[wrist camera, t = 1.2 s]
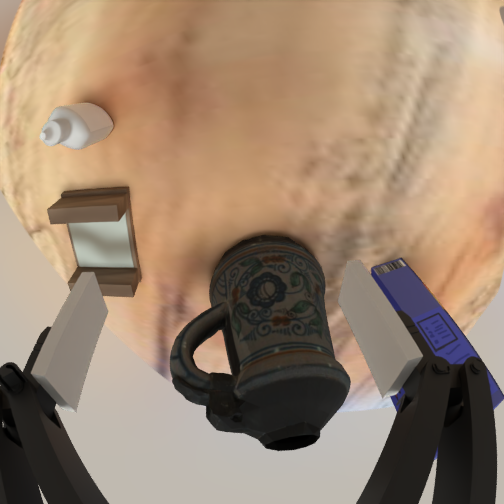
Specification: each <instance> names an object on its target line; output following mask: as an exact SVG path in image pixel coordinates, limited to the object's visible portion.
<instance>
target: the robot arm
mask: <svg viewBox="0 0 504 504" xmlns="http://www.w3.org/2000/svg"><path fill="white" fill-rule="evenodd" d="M338 303H339V305H340V307H341V309H342V311H343V313H344V315H345V317H346V319H347V321H348V323H349V325H350V327H351V329H352V332H353V334H354V336H355V338H356V340H357V342H358V344H359V346H360V349H361V351H362V353H363V355H364V357H365V360H366V362H367V364H368V366H369V368H370V371H371V373H372V375H373V377H374V380H375V382H376V384H377V387H378V389H379V391H380V394H381V396H382V398H386V397H389V396H392V395H396V394H397V393H398V392H399V390H400V389H401V388H402V387H403V389H404V391H405V393H404V394H403V396H402V397H401V398H400V399H399V401H398V402H397V404H396V405H397V406H398V405H399V404H400V406H399V409H398V412H397V414H396V417H395V420H394V423H393V425H392V428H391V431H390V434H389V436H388V438H387V441H386V444H385V446H384V448H383V451H382V453H381V455H380V457H379V460H378V462H377V464H376V466H375V468H374V470H373V472H372V475H371V477H370V479H369V481H368V483H367V485H366V486H365V489H364V490H363V492H362V494H361V496H360V498H359V499H358V501H357V503H356V504H418V503H419V500H420V498H421V496H422V493H423V490H424V488H425V485H426V482H427V480H428V476H429V474H430V471H431V468H432V464H433V461H434V458H435V455H436V451H437V448H438V454H437V468H436V478H435V487H434V494H433V501H432V504H495V498H496V485H497V444H496V429H495V419H494V410H493V403H492V396H491V390H490V384H489V379H488V374H487V369H486V366H485V364H484V362H483V361H482V360H481V359H479V358H478V357H475V356H471V357H469V358H467V359H466V361H465V362H464V363H463V364H450V363H449V362H448V361H447V360H446V359H445V358H443V357H440V356H435V354H434V353H433V351H432V350H431V348H430V347H429V345H428V343H427V342H426V340H425V339H424V337H423V335H422V334H421V333H420V332H419V329H418V328H417V326H415V323H414V322H413V320H412V319H411V317H410V316H409V315H407V314H406V313H405V312H404V311H402V310H400V311H395V310H394V308H393V307H392V305H391V304H390V302H389V301H388V299H387V298H386V296H385V295H384V293H383V292H382V290H381V289H380V287H379V286H378V284H377V283H376V282H375V280H374V279H373V277H372V276H371V274H370V273H369V272H368V270H367V269H366V267H365V266H364V265H363V263H362V262H361V260H353V261H347V265H346V269H345V274H344V278H343V282H342V286H341V291H340V295H339V298H338ZM107 314H108V309H107V307H106V304H105V301H104V299H103V296H102V293H101V291H100V288H99V285H98V282H97V279H96V276H95V273H94V272H82V273H81V275H80V277H79V278H78V280H77V282H76V283H75V285H74V287H73V289H72V290H71V292H70V294H69V296H68V297H67V299H66V301H65V303H64V305H63V306H62V308H61V310H60V312H59V314H58V316H57V318H56V320H55V322H54V324H53V326H52V327H47V328H46V329H45V330H44V331H43V332H42V333H41V334H40V336H39V338H38V340H37V344H35V346H34V348H33V351H32V353H31V355H30V357H29V359H28V361H27V364H26V366H25V368H24V370H23V372H22V371H21V370H20V369H19V367H18V366H17V365H16V364H15V363H12V362H9V363H6V364H4V365H3V366H1V368H0V385H1V386H0V504H44V503H43V500H42V497H41V493H40V490H39V486H40V489H41V491H42V493H43V495H44V497H45V499H46V501H47V502H48V504H109V503H108V502H107V500H106V499H105V497H104V496H103V495H102V493H101V492H100V490H99V489H98V487H97V486H96V484H95V483H94V481H93V479H92V478H91V476H90V474H89V473H88V471H87V469H86V468H85V466H84V464H83V463H82V461H81V459H80V457H79V456H78V454H77V452H76V450H75V448H74V446H73V444H72V442H71V440H70V438H69V436H68V434H67V432H66V430H65V428H64V426H63V423H62V421H61V419H60V417H59V415H58V413H57V411H56V409H55V406H56V403H57V404H58V405H59V406H60V407H61V408H62V409H63V410H67V411H72V412H76V410H77V407H78V403H79V399H80V395H81V392H82V388H83V385H84V381H85V378H86V375H87V371H88V368H89V365H90V362H91V358H92V355H93V353H94V350H95V347H96V344H97V341H98V338H99V335H100V333H101V330H102V327H103V324H104V322H105V319H106V317H107ZM400 402H401V403H400ZM2 422H3V423H4V427H3V423H2ZM38 485H39V486H38Z"/></svg>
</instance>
